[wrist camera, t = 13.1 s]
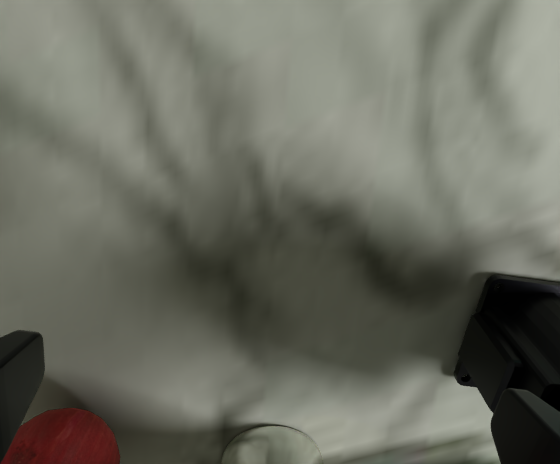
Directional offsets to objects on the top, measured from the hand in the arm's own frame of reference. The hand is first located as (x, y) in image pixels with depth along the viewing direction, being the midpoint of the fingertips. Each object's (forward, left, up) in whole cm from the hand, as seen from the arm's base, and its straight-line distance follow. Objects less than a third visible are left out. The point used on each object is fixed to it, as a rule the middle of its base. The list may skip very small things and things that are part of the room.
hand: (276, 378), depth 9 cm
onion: (+9, +15, -13) cm, 22 cm away
